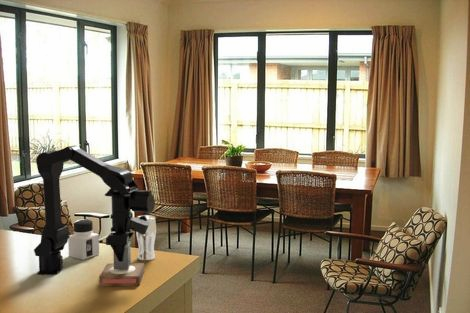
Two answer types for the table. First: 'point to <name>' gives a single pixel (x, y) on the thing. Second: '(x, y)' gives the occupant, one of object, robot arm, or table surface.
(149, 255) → the beer glass
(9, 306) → the table surface
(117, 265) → the metal column
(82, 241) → the container
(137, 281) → the walnut step
